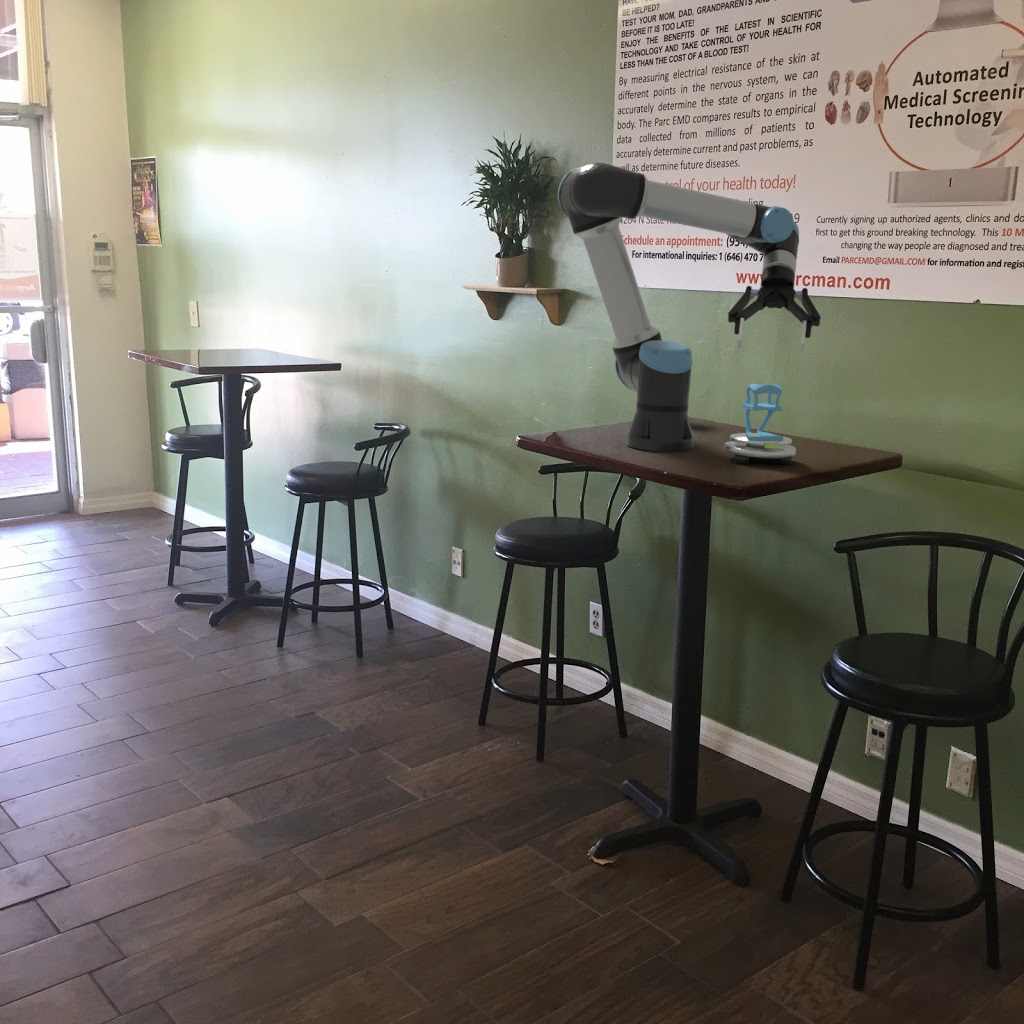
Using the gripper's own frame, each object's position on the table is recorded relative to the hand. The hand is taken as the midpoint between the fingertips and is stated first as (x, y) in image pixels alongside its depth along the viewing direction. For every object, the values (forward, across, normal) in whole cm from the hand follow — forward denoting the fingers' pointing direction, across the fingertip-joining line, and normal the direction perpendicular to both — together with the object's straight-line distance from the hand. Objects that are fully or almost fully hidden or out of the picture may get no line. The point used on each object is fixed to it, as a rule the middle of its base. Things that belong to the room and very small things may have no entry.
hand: (770, 345), depth 236 cm
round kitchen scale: (+26, 0, -8) cm, 27 cm away
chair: (+22, 0, -4) cm, 23 cm away
